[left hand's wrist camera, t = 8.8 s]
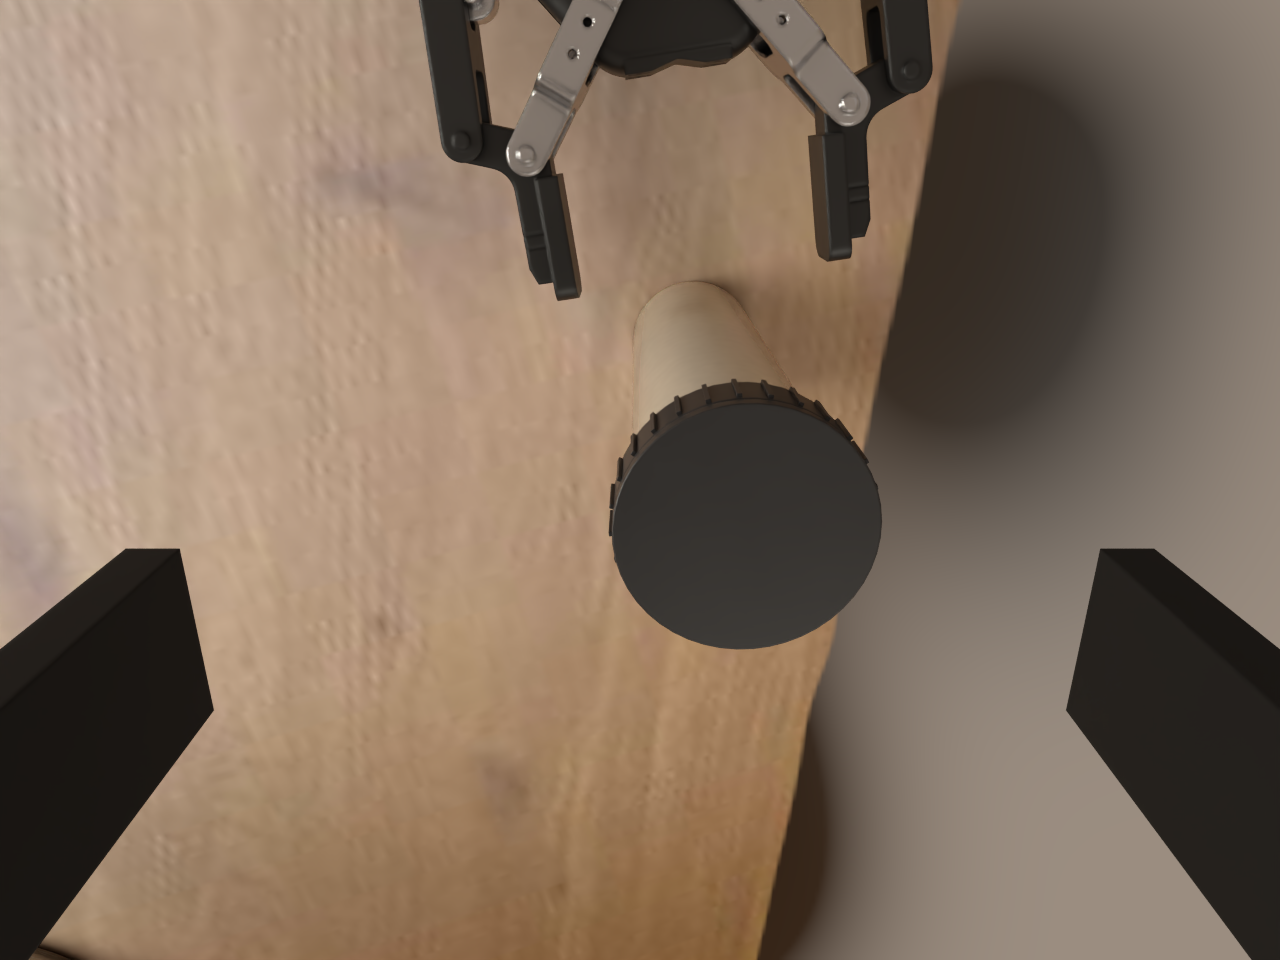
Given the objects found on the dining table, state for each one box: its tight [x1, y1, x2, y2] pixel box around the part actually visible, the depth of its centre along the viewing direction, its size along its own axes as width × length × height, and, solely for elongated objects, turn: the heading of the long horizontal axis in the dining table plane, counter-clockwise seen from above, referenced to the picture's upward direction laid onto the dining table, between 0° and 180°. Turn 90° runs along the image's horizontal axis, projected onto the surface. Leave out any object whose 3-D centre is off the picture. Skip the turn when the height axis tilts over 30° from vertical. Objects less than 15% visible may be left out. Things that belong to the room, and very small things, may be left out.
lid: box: [609, 379, 882, 649], centre depth 19 cm, size 6×6×2 cm
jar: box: [632, 281, 793, 435], centre depth 27 cm, size 5×5×18 cm
